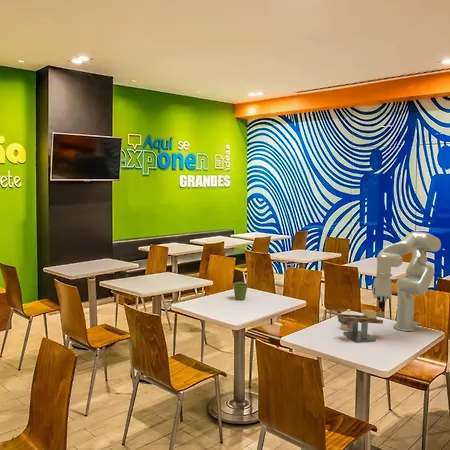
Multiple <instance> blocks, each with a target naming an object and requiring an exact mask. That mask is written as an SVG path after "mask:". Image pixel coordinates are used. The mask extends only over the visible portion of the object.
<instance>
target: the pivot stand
mask: <svg viewBox="0 0 450 450" xmlns="http://www.w3.org/2000/svg"><path fill="white" fill-rule="evenodd" d="M360 324H361V325H360V326H361V327H360V328H361V329H360V330H359V322H352V331H343V333H342V334H343V335H344V336H345V337H346V338H348V339H350V340H351V341H352V342H354V343H373V342H374V343H375V342H376V338H375V337H373V336H372V335H370V334H369V333H368V328H369V327H368V325H369V323H368V322H367V321H362V323H360Z"/></svg>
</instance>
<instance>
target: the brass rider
mask: <svg viewBox="0 0 450 450" xmlns="http://www.w3.org/2000/svg"><path fill="white" fill-rule="evenodd" d="M362 316H363V318H364V319H377V318H376V317H377V311H375V310H373V309H363V315H362Z"/></svg>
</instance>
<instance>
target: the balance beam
mask: <svg viewBox="0 0 450 450" xmlns="http://www.w3.org/2000/svg"><path fill="white" fill-rule="evenodd" d="M336 315H337V317H336V318H337V322H339V323H340V324H341V323H342V324H343V325H348V324H349V322H358V323H360V324H361V323H362V321H367V322H368V324H379V325H380V324H381V325H383V324H384V320H383V319H378V317H377V316H376V319H364V318H363V315H360V314H356V315H347V314H341V313H337V314H336Z"/></svg>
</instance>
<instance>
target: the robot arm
mask: <svg viewBox="0 0 450 450" xmlns="http://www.w3.org/2000/svg"><path fill="white" fill-rule="evenodd" d="M441 247H442V242H441V240H440V239H439V237H436V236H435V235H433V234H431V233H428V232H425V231H424V232H421V231H411V232H409V233H407V235H406V236H404V237H403V238H402V239H401V240H400V241H399V242H396V243H393V244H390V245H389V244H388V245H387V246H385V247H384V248H382V250H380V251H379V252H378V254H377V256H376V263H377V264H376V276H375V278H374V280H373V283H372V298H373V299H377V301H378V308H379V309H381V310H382V309H383V310H384V309H385V307H386V302H387V300H388V299H391V298H392V294H393V282H392V281H393V280H392V279H391V278H392V277H393V274H392V267H394V268H398V267H401V266H402V264H403V262H404V258H403V256H404V255H408V254H410V253H413V254H412V258H411V260H410V262H409V263H408V265H407V267H406V269H405V274H406V276H405V275H404V276H400V277H398V278H397V280H396V283H395V284H396V290H397V293H396V294H397V302H396V303H397V304H396V307H397V308H396V323H394V324H393V329H395V330H398V331H401V332H403V331H404V332H414V331H416V330H417V329H416V326H421V325H422V324H421V321H414V314H415V313H414V312H415V298H414V295H417V296H423V295H425V294H426V293H427V291H428V289H429V288H430V285H431V283H432V281H433V279H434V275H435V269H434V268H433V266H432V265H430V264H427V261H428V258H427V255H426V254H425V252H424V251H428V252H433V253H434V252H438V251H439V250H440V249H441Z"/></svg>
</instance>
